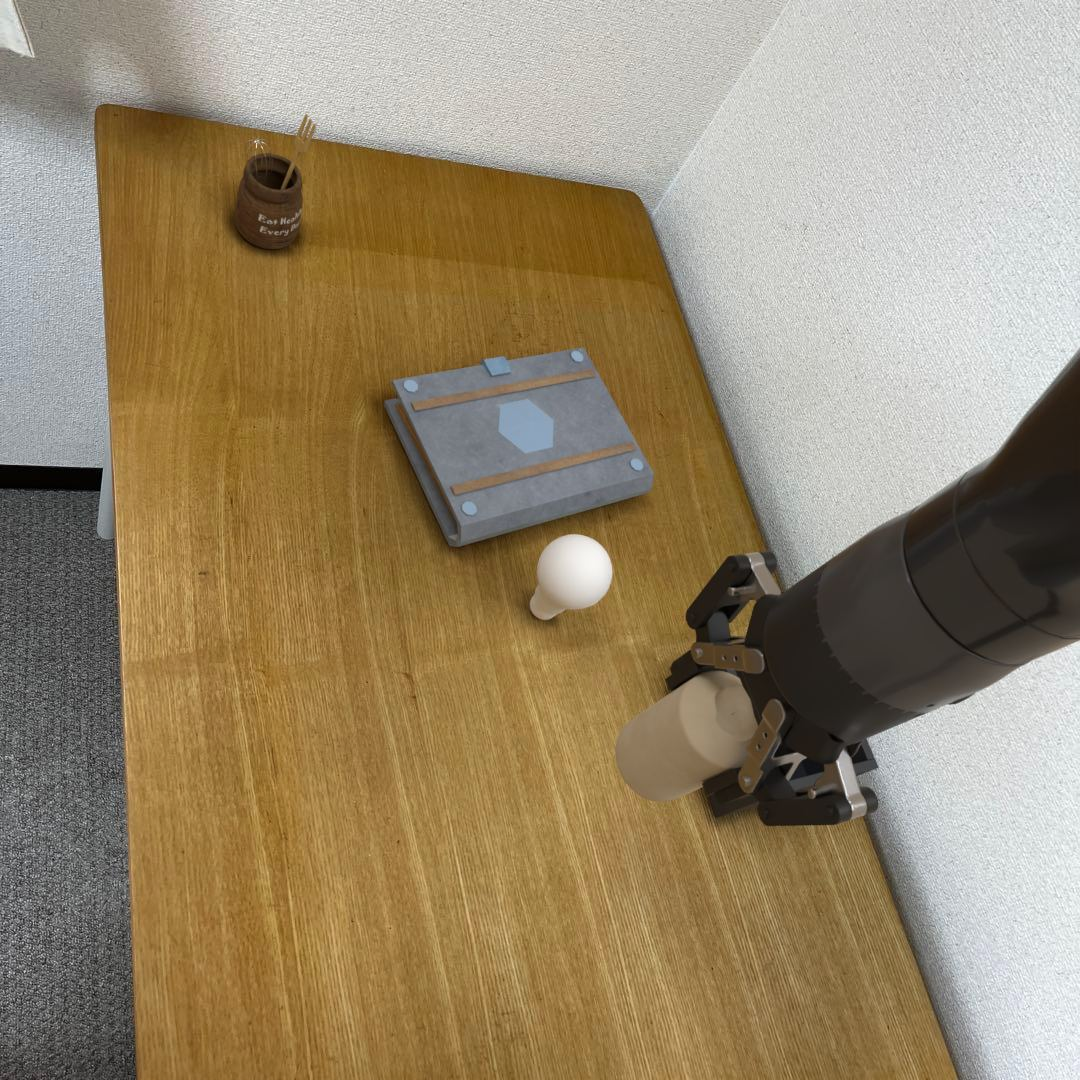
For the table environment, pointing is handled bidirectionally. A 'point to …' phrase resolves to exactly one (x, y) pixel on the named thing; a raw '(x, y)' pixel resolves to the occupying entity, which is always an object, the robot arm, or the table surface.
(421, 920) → the table surface
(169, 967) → the table surface
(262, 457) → the table surface
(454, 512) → the book
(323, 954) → the table surface
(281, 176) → the utensil holder
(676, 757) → the candle
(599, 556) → the lightbulb
